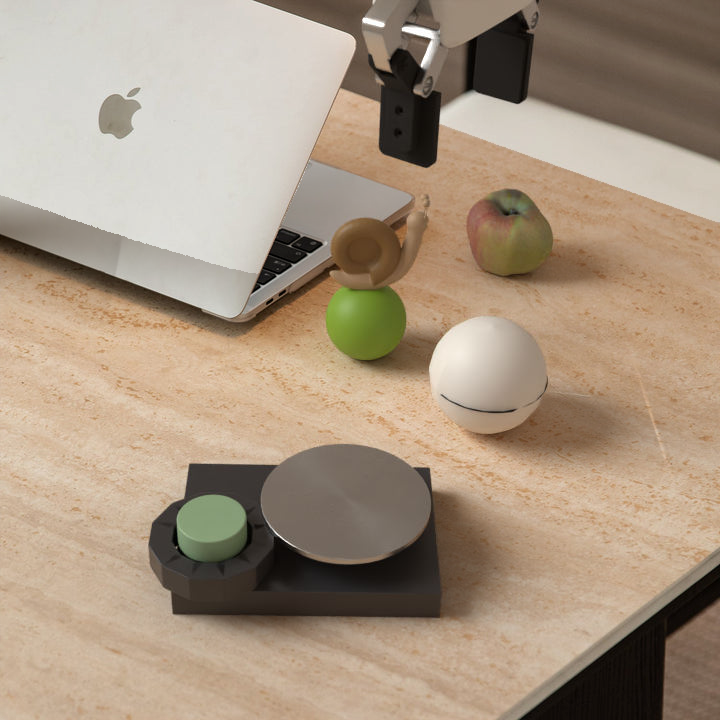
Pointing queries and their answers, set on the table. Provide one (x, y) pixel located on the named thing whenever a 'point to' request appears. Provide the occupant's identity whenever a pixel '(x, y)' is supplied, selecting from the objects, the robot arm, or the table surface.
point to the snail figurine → (371, 284)
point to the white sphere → (488, 374)
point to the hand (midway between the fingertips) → (455, 126)
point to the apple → (508, 233)
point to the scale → (287, 564)
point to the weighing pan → (345, 504)
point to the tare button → (212, 528)
